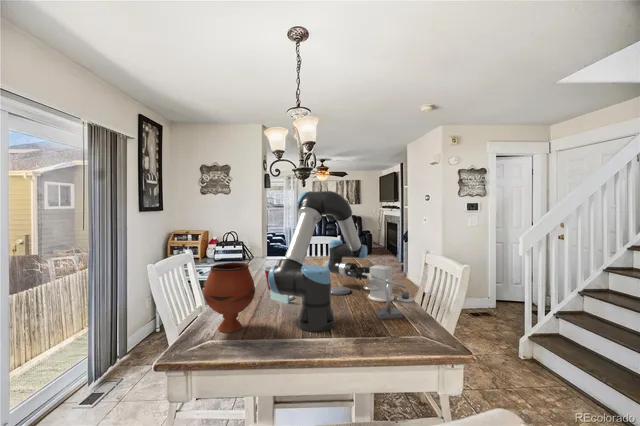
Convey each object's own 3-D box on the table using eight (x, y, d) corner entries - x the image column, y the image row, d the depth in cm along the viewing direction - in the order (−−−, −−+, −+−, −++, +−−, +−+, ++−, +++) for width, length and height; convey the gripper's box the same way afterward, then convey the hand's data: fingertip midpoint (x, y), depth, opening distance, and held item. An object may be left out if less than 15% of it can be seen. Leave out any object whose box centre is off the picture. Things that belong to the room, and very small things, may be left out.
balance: (365, 319, 129) (365, 276, 128) (361, 313, 136) (361, 272, 135) (416, 317, 131) (416, 274, 130) (409, 311, 138) (409, 271, 137)
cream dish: (372, 302, 150) (372, 300, 150) (365, 295, 163) (365, 292, 163) (397, 301, 152) (397, 299, 152) (389, 294, 165) (389, 291, 164)
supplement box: (392, 295, 159) (392, 266, 158) (386, 299, 151) (385, 269, 151) (376, 292, 164) (376, 264, 163) (369, 296, 156) (369, 267, 156)
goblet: (260, 319, 130) (259, 260, 129) (248, 339, 111) (247, 270, 110) (215, 318, 131) (214, 260, 130) (196, 338, 111) (194, 270, 111)
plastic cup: (281, 291, 171) (281, 270, 171) (262, 291, 171) (262, 270, 171) (284, 286, 182) (284, 266, 182) (266, 286, 182) (265, 266, 182)
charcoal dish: (328, 295, 162) (328, 293, 162) (325, 289, 175) (325, 286, 175) (352, 294, 164) (352, 292, 164) (347, 288, 176) (347, 286, 176)
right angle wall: (287, 304, 150) (287, 289, 150) (270, 300, 158) (270, 285, 157) (303, 298, 160) (303, 284, 160) (286, 294, 167) (286, 280, 167)
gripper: (362, 272, 182) (393, 278, 167) (333, 280, 164) (366, 287, 149) (362, 259, 181) (393, 264, 166) (333, 266, 164) (366, 272, 149)
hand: (380, 275), depth 158 cm, fingers open, 13 cm apart
